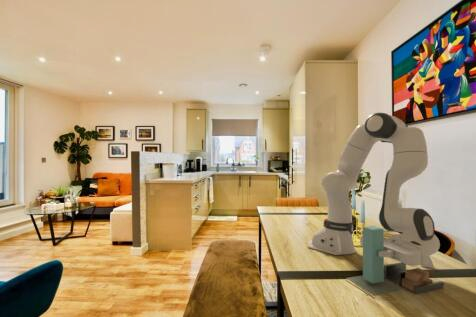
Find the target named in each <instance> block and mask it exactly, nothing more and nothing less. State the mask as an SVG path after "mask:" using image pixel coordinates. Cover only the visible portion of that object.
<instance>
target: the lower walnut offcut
mask: <svg viewBox="0 0 476 317" xmlns="http://www.w3.org/2000/svg"><path fill="white" fill-rule="evenodd" d="M430 283H434V280H433V279H431V278H429V280H426V281H423V282H420V283H417V284H416V283H414V282H412V281H409V280H407V279H405V278H402V286H404V287H405V288H407V289H409V290H411V291H413V287H416V286H420V285H425V284H430Z"/></svg>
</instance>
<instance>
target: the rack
mask: <svg viewBox="0 0 476 317" xmlns="http://www.w3.org/2000/svg"><path fill="white" fill-rule="evenodd" d="M418 268H419V269H421V268H420V267H418ZM409 270H412V268H411V269H407V265H406V264H404V263H401V262H396V263H390V264H384V280H386V281H389V282H391V284H392V283H393V285H394V284H395V286H397V287H398V286H399V287H400V288H402V289H404V290H406V291H408V292H410V293H412V294H414V295H420V294H424V293H430V292H432V291H433V292H434V291H438V290H443V289H444V288H445V287H444V286H445V283H444V281H442V280H441V281H436V282H433V283H430V284H425V285H420V286H416V287H413V291H411V290H409V289H407V288H405V287H404V286H402V278H405V271H409Z"/></svg>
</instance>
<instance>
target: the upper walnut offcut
mask: <svg viewBox="0 0 476 317" xmlns="http://www.w3.org/2000/svg"><path fill="white" fill-rule="evenodd" d="M419 268H420V267H417V268H413V269H412V268H411V269H412V270H411V269H408V270H409V271H405V279H407V280H409V281H412V282H414V283H416V284H417V283H420V282H423V281H426V280H429V279H430V272H429V271H428V270H424V269H421V268H420V269H419Z"/></svg>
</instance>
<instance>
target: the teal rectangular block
mask: <svg viewBox="0 0 476 317" xmlns="http://www.w3.org/2000/svg"><path fill="white" fill-rule="evenodd" d="M362 236H363V246H362V275H363V278H364V279H366V280H367V281H369V282H371V283H377V282H383V281H384V280H385V278H384V265H385V264H384V262H385V261H384V259H385V257H379V256H377V255H376V251H377V250H381V251H384V239H385V238H384V236H385V235H384V227H383V228H382V227H379V226H376V225H368V226H362Z"/></svg>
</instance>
